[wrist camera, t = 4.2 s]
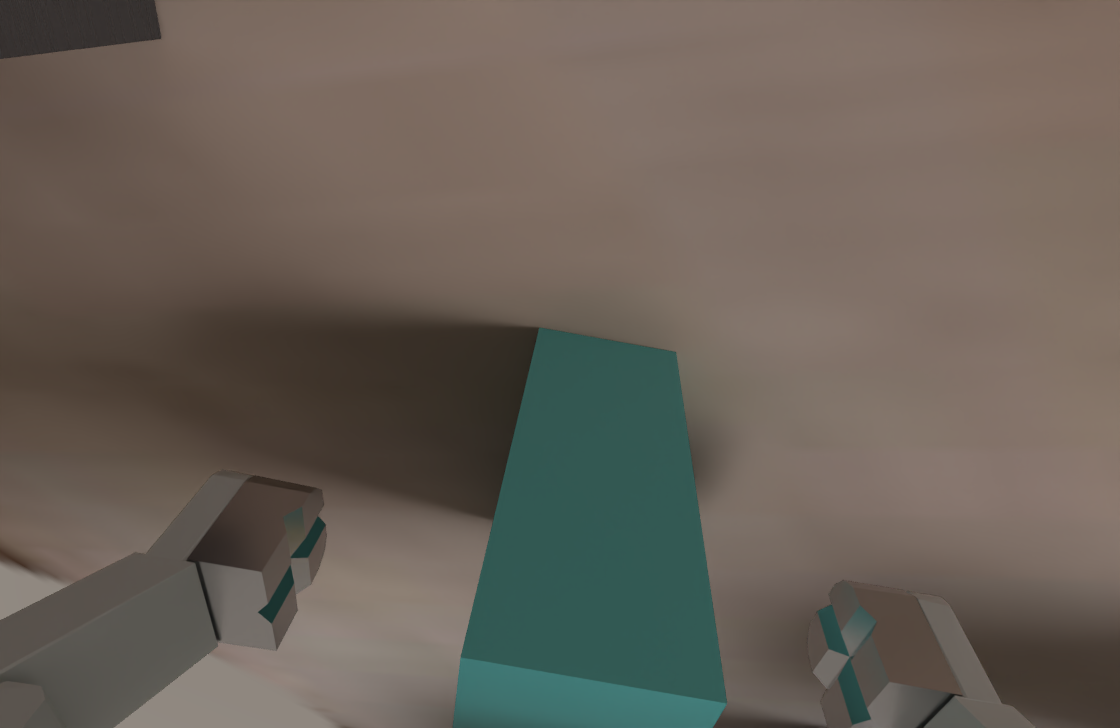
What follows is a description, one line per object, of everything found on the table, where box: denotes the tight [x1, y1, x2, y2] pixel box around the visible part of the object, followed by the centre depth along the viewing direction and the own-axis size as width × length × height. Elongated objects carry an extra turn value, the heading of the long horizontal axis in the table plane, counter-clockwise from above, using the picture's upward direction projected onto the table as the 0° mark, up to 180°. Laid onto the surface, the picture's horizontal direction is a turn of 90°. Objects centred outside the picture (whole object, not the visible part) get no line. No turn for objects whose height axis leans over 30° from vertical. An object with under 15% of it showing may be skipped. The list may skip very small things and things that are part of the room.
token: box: [453, 328, 727, 728], centre depth 9 cm, size 5×2×6 cm, turn 171°
